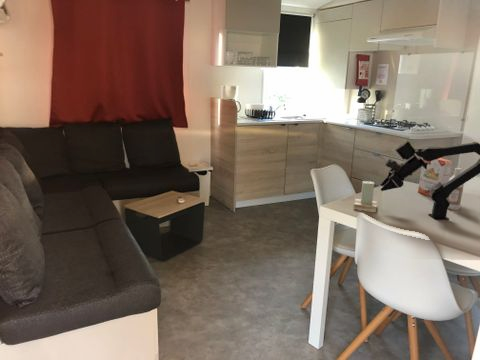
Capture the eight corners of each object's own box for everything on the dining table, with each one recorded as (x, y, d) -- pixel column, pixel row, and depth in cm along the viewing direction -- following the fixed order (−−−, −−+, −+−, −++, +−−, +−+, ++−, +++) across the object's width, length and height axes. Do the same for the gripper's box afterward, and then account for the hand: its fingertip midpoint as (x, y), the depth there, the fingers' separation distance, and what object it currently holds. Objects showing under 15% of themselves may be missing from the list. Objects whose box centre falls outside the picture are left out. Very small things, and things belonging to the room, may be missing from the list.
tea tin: (371, 204, 190) (374, 184, 188) (360, 203, 191) (363, 183, 189) (371, 201, 195) (373, 181, 192) (360, 200, 196) (362, 180, 194)
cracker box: (417, 192, 225) (422, 155, 220) (424, 191, 227) (430, 155, 222) (438, 199, 213) (445, 161, 207) (446, 198, 215) (453, 160, 210)
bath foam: (443, 208, 198) (450, 168, 193) (444, 204, 204) (450, 166, 199) (459, 211, 195) (466, 170, 190) (459, 207, 201) (466, 168, 196)
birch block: (375, 213, 188) (376, 207, 187) (353, 210, 191) (354, 204, 190) (375, 207, 197) (376, 201, 196) (354, 204, 200) (355, 198, 199)
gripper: (397, 150, 192) (370, 170, 198) (398, 157, 175) (369, 179, 181) (412, 168, 191) (385, 187, 198) (415, 176, 174) (385, 198, 180)
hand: (381, 187), depth 189 cm, fingers open, 9 cm apart
